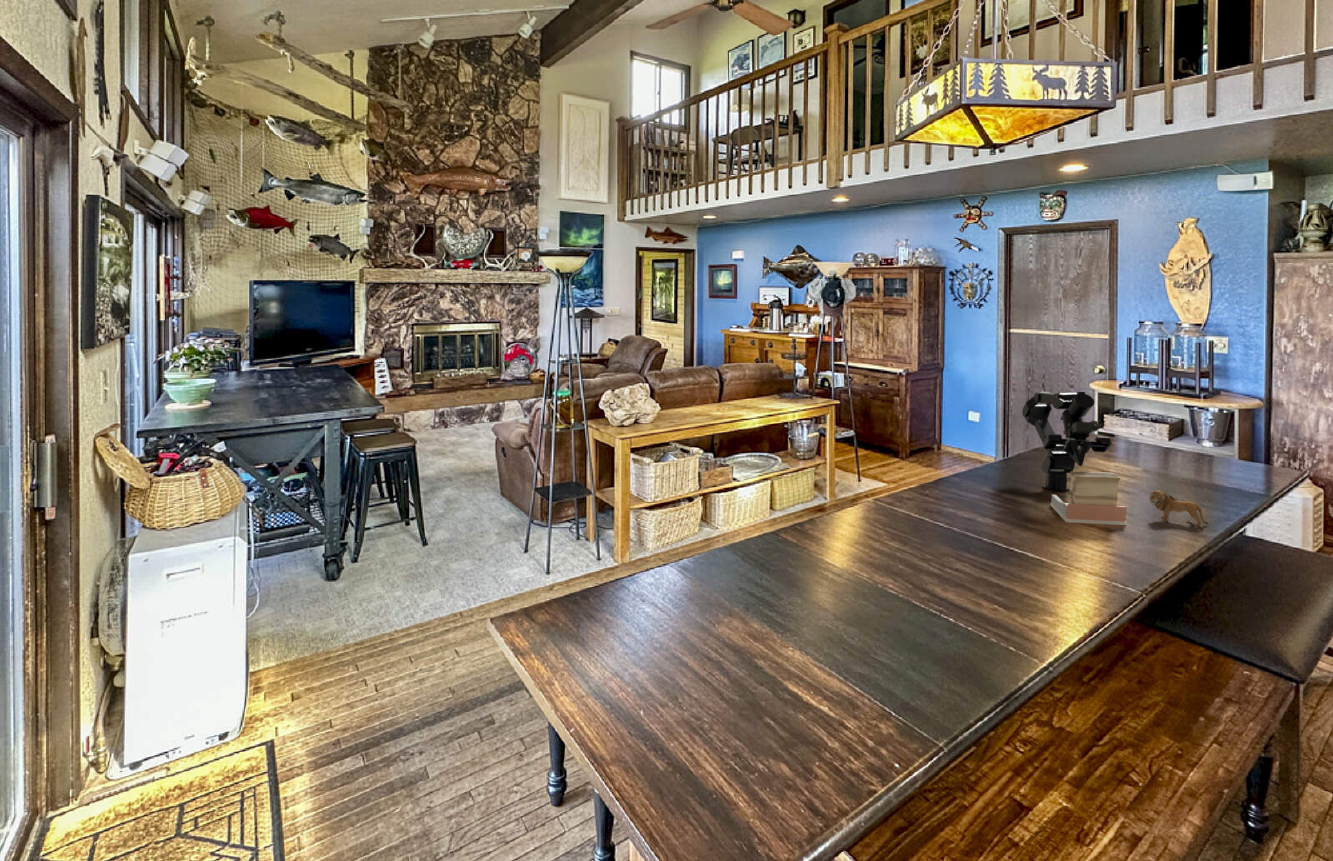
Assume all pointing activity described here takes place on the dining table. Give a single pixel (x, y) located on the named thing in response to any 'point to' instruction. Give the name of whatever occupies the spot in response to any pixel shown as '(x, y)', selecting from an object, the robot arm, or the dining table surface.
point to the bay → (1089, 512)
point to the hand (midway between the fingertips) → (1080, 465)
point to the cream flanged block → (1094, 488)
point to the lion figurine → (1175, 506)
